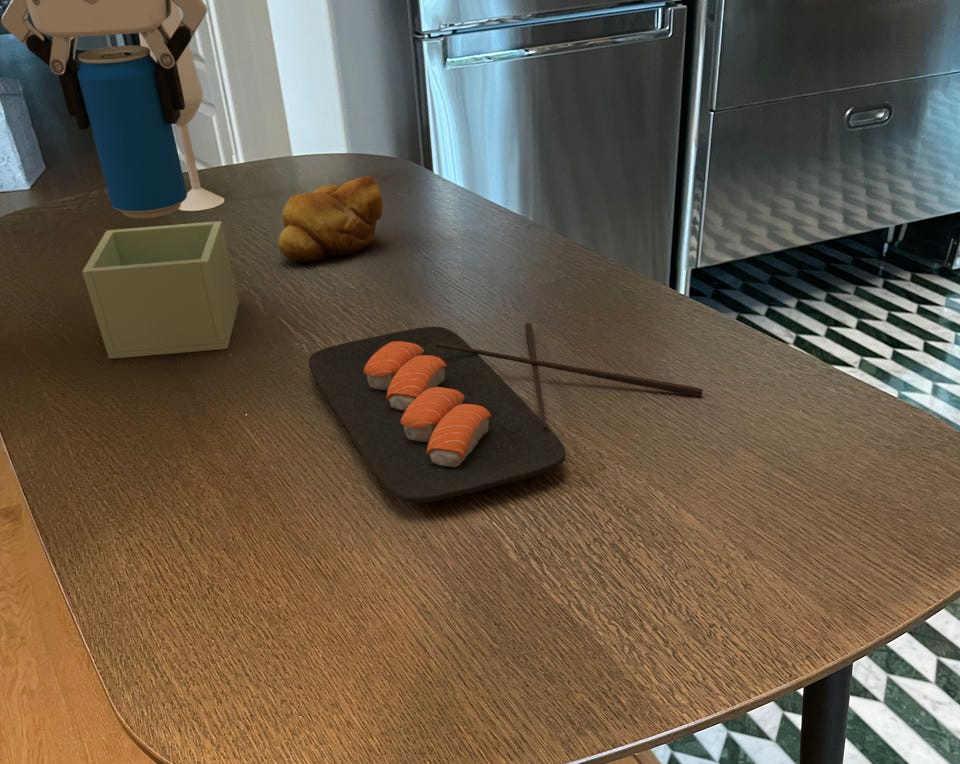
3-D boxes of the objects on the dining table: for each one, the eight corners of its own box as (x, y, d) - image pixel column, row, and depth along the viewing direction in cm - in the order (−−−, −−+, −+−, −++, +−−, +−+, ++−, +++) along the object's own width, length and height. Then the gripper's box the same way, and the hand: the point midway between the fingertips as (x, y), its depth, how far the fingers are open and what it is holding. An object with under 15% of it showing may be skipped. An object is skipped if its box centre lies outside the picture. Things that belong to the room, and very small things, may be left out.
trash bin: (109, 359, 98) (81, 271, 92) (129, 312, 107) (106, 230, 101) (227, 349, 98) (208, 261, 93) (239, 303, 107) (221, 220, 102)
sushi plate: (302, 371, 94) (295, 332, 91) (590, 309, 101) (591, 271, 99) (400, 529, 73) (394, 483, 70) (754, 435, 80) (760, 391, 78)
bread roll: (298, 275, 113) (286, 201, 107) (261, 253, 119) (247, 182, 114) (396, 247, 118) (388, 175, 113) (355, 227, 124) (346, 158, 119)
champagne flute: (234, 200, 135) (192, -9, 120) (192, 214, 132) (144, -1, 116) (206, 192, 139) (161, -13, 123) (164, 205, 135) (113, -4, 120)
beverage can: (191, 194, 90) (158, 42, 83) (186, 217, 86) (151, 57, 78) (118, 200, 90) (78, 47, 82) (109, 224, 85) (66, 63, 77)
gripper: (-77, -143, 68) (12, 141, 80) (178, -156, 69) (230, 128, 81) (-41, -148, 74) (37, 117, 86) (194, -160, 75) (240, 106, 86)
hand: (130, 120), depth 83 cm, fingers closed on beverage can, 6 cm apart
